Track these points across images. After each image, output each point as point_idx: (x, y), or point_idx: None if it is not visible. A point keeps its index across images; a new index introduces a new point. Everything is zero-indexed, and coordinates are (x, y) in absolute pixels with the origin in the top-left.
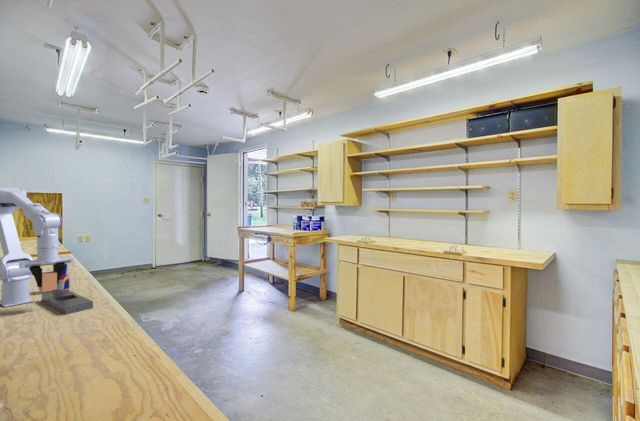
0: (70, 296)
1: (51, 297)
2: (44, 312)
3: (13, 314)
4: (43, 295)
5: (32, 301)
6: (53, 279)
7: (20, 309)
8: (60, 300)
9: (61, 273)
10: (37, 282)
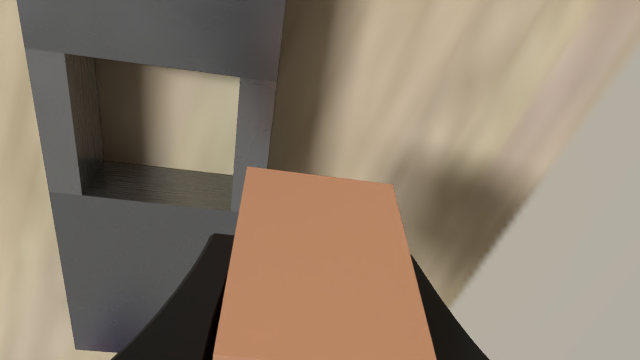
0: (106, 190)
1: None
2: (374, 41)
3: (491, 188)
4: None
5: None
6: (277, 268)
7: None
8: (190, 187)
9: (137, 336)
10: None
